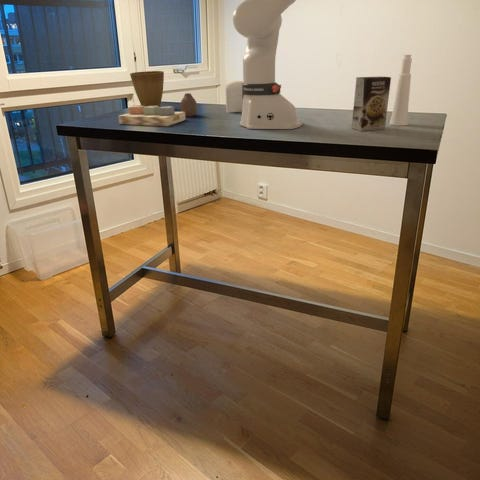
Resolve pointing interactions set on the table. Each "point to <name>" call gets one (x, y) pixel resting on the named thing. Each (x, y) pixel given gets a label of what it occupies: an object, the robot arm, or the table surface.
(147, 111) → the button three
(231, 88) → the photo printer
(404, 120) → the cosmetic bottle
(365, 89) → the cookie box
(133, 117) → the button panel
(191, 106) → the vase
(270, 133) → the table surface
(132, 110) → the button one
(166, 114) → the button two
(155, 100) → the plant pot
